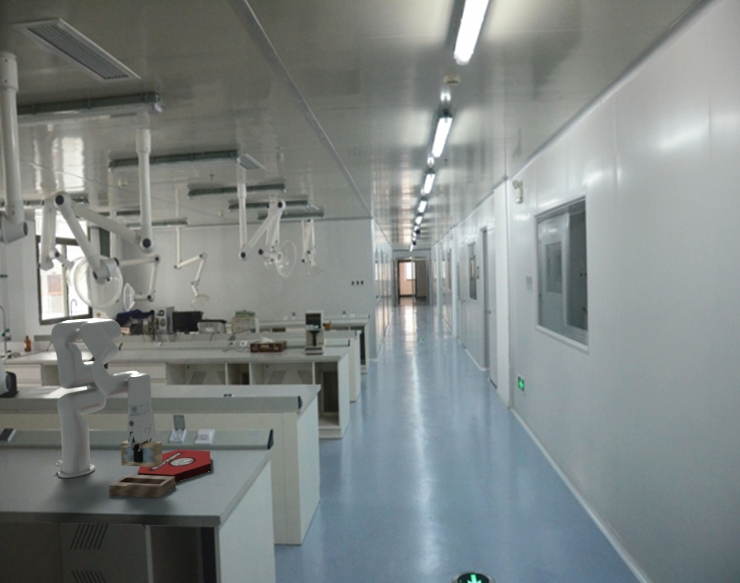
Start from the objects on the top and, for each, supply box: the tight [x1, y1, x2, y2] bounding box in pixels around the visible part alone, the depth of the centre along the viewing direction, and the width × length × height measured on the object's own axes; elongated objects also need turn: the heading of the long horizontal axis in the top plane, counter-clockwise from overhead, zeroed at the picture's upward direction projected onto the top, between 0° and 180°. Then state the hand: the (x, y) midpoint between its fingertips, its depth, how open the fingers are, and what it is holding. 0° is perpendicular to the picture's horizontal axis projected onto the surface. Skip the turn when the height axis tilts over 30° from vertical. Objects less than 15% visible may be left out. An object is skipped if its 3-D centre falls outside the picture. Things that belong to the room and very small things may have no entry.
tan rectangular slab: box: [120, 439, 163, 467], centre depth 182 cm, size 14×3×8 cm, turn 79°
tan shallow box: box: [108, 473, 176, 499], centre depth 182 cm, size 19×10×4 cm, turn 79°
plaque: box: [137, 449, 212, 483], centre depth 203 cm, size 27×4×30 cm
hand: (141, 459), depth 182 cm, fingers closed on tan rectangular slab, 3 cm apart
